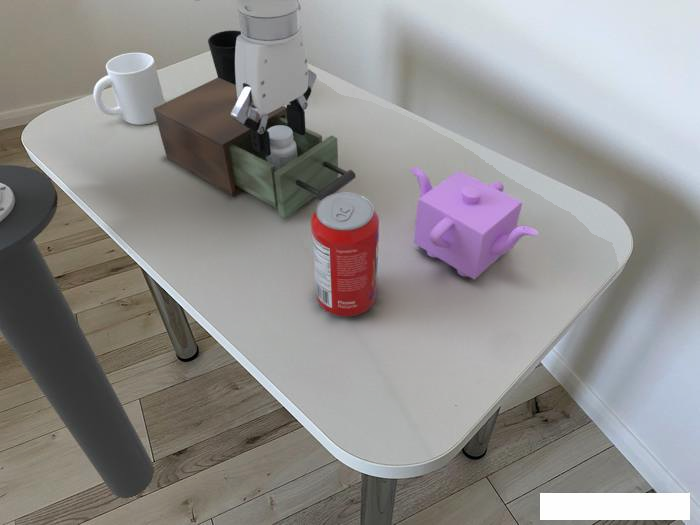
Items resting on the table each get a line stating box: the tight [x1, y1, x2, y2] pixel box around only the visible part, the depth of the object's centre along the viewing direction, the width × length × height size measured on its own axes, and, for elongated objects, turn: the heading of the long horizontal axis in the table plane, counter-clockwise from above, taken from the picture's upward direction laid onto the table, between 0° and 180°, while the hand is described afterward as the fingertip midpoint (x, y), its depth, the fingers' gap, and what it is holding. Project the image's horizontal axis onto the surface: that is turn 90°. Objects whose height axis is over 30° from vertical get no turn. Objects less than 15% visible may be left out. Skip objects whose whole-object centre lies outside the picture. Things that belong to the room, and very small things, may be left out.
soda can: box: [310, 191, 380, 317], centre depth 70 cm, size 8×8×15 cm
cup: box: [207, 30, 241, 85], centre depth 109 cm, size 8×8×12 cm
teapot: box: [410, 166, 539, 280], centre depth 78 cm, size 15×13×11 cm
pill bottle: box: [266, 125, 297, 172], centre depth 88 cm, size 5×5×8 cm
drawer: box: [228, 117, 356, 219], centre depth 88 cm, size 21×12×8 cm, turn 51°
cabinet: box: [154, 77, 287, 197], centre depth 95 cm, size 17×14×10 cm
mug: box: [93, 52, 166, 126], centre depth 105 cm, size 12×8×10 cm
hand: (279, 141), depth 86 cm, fingers open, 6 cm apart
